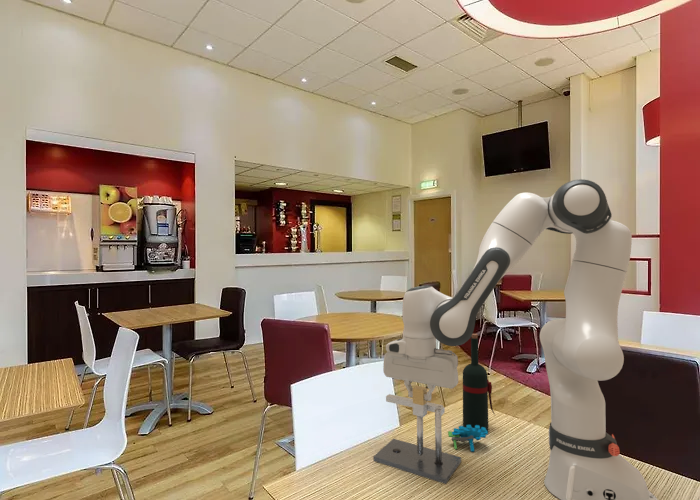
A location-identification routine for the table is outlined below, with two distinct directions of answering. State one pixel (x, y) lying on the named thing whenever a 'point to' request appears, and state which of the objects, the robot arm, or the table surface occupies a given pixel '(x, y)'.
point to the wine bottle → (475, 391)
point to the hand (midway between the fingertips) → (419, 398)
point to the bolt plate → (417, 460)
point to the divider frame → (439, 412)
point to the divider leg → (419, 414)
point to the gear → (467, 434)
